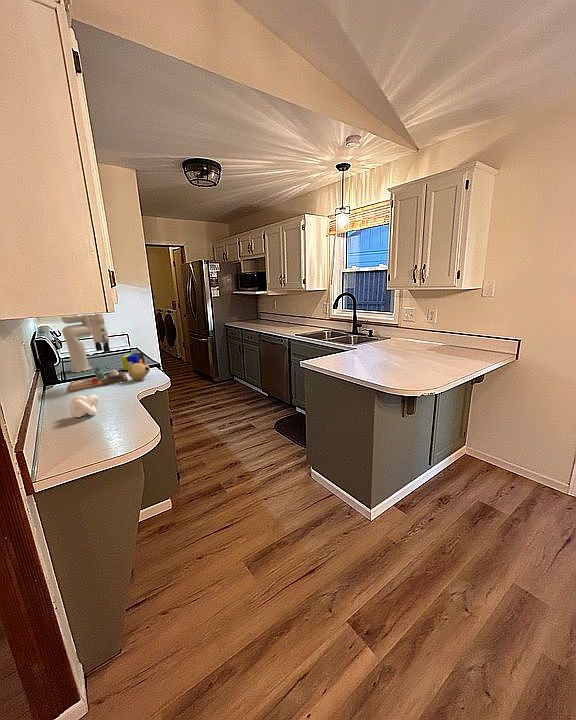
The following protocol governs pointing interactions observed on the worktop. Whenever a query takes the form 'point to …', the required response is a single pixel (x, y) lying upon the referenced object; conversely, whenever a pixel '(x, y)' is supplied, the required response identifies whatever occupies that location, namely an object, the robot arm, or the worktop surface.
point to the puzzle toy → (132, 359)
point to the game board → (89, 384)
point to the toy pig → (138, 371)
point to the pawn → (99, 373)
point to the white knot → (83, 405)
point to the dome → (113, 373)
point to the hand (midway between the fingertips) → (103, 351)
